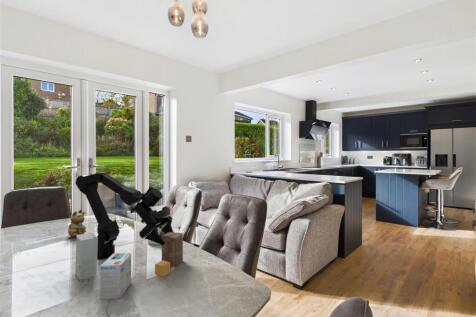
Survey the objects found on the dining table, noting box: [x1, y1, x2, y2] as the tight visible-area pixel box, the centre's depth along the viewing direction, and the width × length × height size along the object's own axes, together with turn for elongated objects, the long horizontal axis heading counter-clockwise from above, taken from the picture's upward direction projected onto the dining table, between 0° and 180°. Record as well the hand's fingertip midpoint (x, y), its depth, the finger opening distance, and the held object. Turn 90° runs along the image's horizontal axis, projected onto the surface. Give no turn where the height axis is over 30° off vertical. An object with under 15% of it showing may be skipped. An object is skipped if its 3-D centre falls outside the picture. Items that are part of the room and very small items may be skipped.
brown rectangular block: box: [161, 231, 184, 268], centre depth 109 cm, size 6×6×12 cm
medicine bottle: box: [147, 227, 166, 246], centre depth 136 cm, size 7×7×12 cm
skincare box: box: [74, 232, 98, 281], centre depth 98 cm, size 8×6×15 cm
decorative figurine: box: [67, 209, 87, 238], centre depth 147 cm, size 10×8×15 cm
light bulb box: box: [99, 252, 132, 300], centre depth 86 cm, size 11×7×11 cm, turn 5°
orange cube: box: [154, 259, 171, 277], centre depth 99 cm, size 4×4×4 cm
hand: (169, 241), depth 109 cm, fingers open, 9 cm apart
